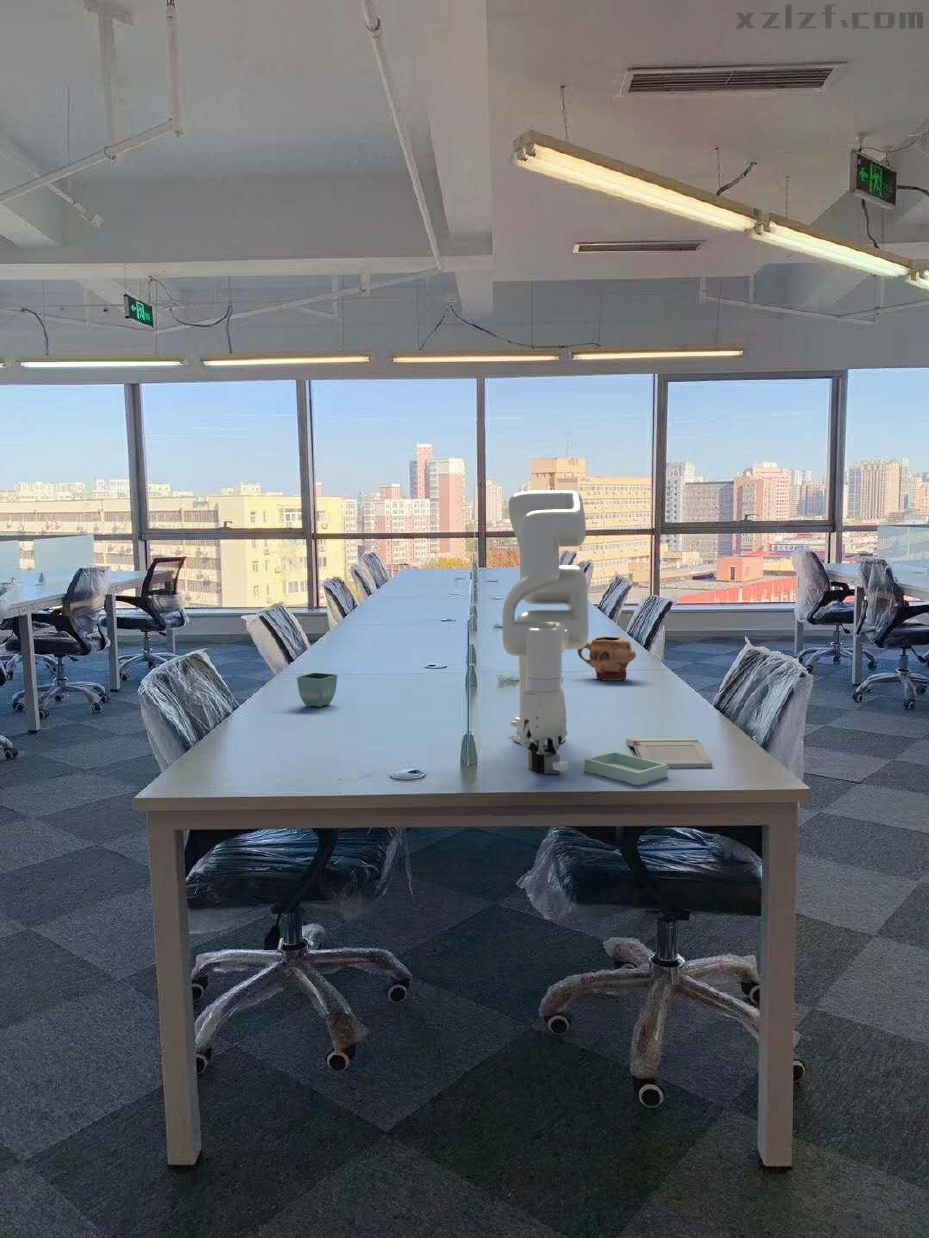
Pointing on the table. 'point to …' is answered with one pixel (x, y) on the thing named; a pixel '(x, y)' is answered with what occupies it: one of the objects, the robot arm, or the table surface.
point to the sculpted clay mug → (609, 657)
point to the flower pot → (317, 688)
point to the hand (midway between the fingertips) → (544, 769)
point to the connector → (550, 763)
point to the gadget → (672, 752)
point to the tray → (626, 768)
